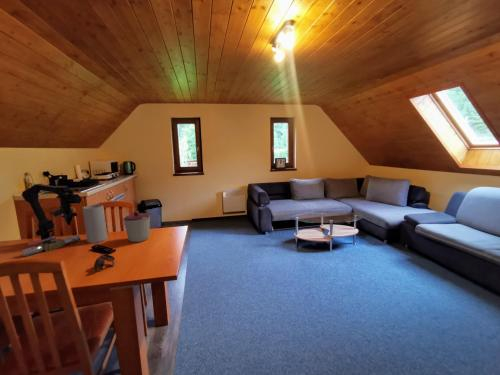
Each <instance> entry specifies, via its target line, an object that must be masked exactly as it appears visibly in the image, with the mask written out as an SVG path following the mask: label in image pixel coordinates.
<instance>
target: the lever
mask: <svg viewBox="0 0 500 375" xmlns="http://www.w3.org/2000/svg"><path fill="white" fill-rule="evenodd" d="M52 239H54V240H56V236H55V235H51V237H49V238H46V239H42V240H41V239H38V240H34V241H30V242H28V243H27V244H28V246H29V247H30V246H31V247H32V246H35V245H38V244H42V243H41V242H43V241H47V240H52Z"/></svg>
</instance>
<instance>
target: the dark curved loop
mask: <svg viewBox="0 0 500 375" xmlns="http://www.w3.org/2000/svg"><path fill="white" fill-rule="evenodd" d="M115 259H116V258H115V257H114V256H112V255H110V254H107V253H102V254H100V256H98V257H97V258H96V260H94V264H93V270H94V271H95V272H98V270H99V271H101V270H103V268H104V266H105V263H106V262H110V263H112V265H111V266H112V267H115V266H114V265H115Z"/></svg>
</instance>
